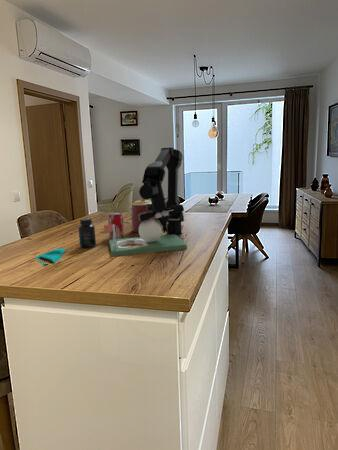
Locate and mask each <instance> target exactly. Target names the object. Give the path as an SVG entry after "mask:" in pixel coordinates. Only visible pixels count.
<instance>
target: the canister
mask: <svg viewBox="0 0 338 450" xmlns="http://www.w3.org/2000/svg"><path fill="white" fill-rule="evenodd" d="M146 204H151V199H143V198H142V197H141V196H140V199H139V200H135V201H134V202H133V203H131V205H132V207H130V210H131V214H130V216H131V217H130V220H131V229H132V230H131V231H132V232H133V233H138V234H139V226H140V224H141V223H142V222H143V221H139V218H138V215H139V214H141V213H145V212H148V211H147V207H146ZM148 213H152V211H151V212H148ZM154 218H155V217H150V218H149V219H154ZM155 220H156V219H155Z"/></svg>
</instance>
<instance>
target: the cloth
mask: <svg viewBox="0 0 338 450" xmlns="http://www.w3.org/2000/svg"><path fill="white" fill-rule="evenodd" d="M66 251H68V250H67V249H64V247H61V248H56V249H52V250H50V251H48V252H45V253H43V254H39V255H37V256H35V259H36V260H37V261H38V262H39V263H40V264H42V263H43V264H42V266H43V267H44V266H45V267H46V266H47V264H44V263H45V262H46V261H49V262H52V263H54V264H56V263H57V262H58V261H60V260H61V259H62V258H63V257H64V255H63V253H65V252H66ZM62 256H63V257H62ZM61 257H62V258H61ZM42 259H43V260H44V259H45V260H46V261H42ZM55 262H56V263H55Z"/></svg>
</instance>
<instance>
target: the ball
mask: <svg viewBox="0 0 338 450" xmlns="http://www.w3.org/2000/svg"><path fill="white" fill-rule="evenodd" d="M138 234H139V237H141V238H142V239H143V240H144V241H146V242H155V241H157V240H158V239H159V238H160V237H161V235H163V228H162V225H161V223H160V222H159V221H158V220H155V219H148V220H145V221H143V222H142V223H141V224H140V226H139V233H138Z"/></svg>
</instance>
